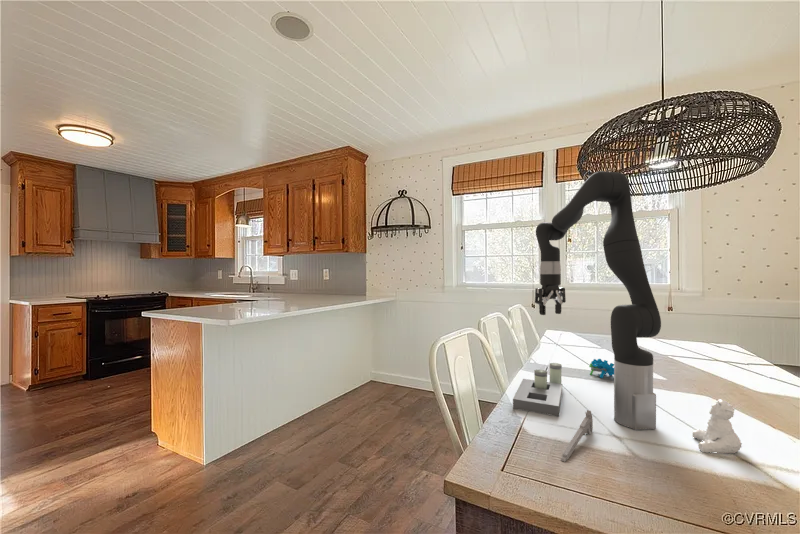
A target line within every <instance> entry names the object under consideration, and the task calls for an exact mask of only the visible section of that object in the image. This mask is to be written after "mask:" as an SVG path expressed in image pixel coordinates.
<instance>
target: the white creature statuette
mask: <svg viewBox="0 0 800 534" xmlns="http://www.w3.org/2000/svg"><path fill="white" fill-rule="evenodd" d="M716 401H717V402H715V404H712V405H711V408H710V410H709V415H710V419H708V422H707V425H708V426H707V429H706V430H704V429H693V431H692V438H693V437H694V438H693V439H695V438H697V439H700V440H699V441H701V440H703V442H702V441H701V442H699V443H698V445H697V446H698V450H699V449H700V450H702V451H704V452H703V453H705V452H710V453H711V452H717V453H716V454H725V453H726V454H731V453H733V454H735V453H737V452H738V451H740V450H741V448H742V444H743V443H742V442H741V439H740V437H738V435H737V433H736V432H735V430H734V428H733V424H732V422H731V421H730V419H732V418H733V417H734V415H735V414H734V413H735V408H734V407H733V405H731V403H729V402H728V401H727V400H724V399H721V398H718V399H717V400H716ZM697 439H696V440H697ZM700 450H699V451H700ZM710 453H709V454H710ZM711 454H712V453H711Z"/></svg>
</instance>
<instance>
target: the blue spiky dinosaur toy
mask: <svg viewBox="0 0 800 534" xmlns="http://www.w3.org/2000/svg"><path fill="white" fill-rule="evenodd" d="M608 362H609V361H608V360H606V359H604V360H602V359H601V358H597V359H596V358H593V360H592V361H591V362H590V363H589V366H588V367H589V368H590V373H589V375H590V376H593V373H594V372H600V375H599V378H600V379H603V378H604V375H609V376H611V377H613V376H614V363H612V362H610V363H608Z"/></svg>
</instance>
